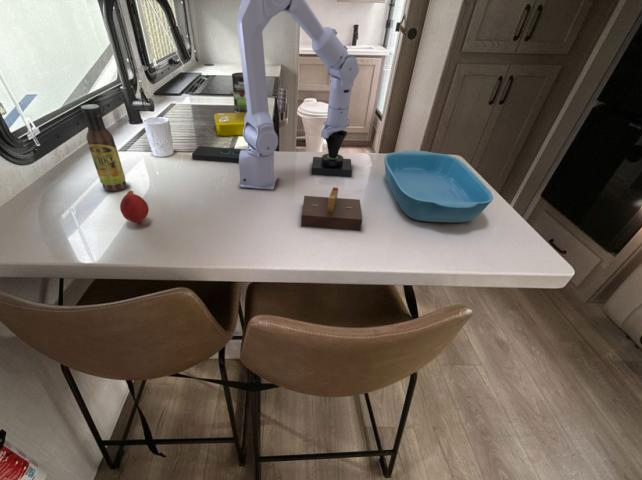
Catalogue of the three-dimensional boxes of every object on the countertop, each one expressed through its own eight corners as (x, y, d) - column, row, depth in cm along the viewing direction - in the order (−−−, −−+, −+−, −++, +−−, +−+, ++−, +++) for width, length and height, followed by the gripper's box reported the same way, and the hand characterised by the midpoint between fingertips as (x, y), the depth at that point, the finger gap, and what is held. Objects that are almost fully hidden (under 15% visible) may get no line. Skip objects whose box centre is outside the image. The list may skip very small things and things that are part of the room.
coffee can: (254, 115, 146) (252, 77, 136) (231, 113, 147) (228, 76, 137) (259, 109, 153) (258, 73, 144) (238, 107, 154) (235, 71, 145)
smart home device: (252, 158, 104) (191, 154, 106) (252, 164, 106) (191, 159, 107) (257, 149, 110) (199, 145, 112) (257, 154, 112) (199, 150, 113)
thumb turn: (332, 212, 78) (334, 197, 75) (326, 211, 78) (328, 196, 75) (336, 202, 82) (338, 187, 79) (331, 201, 82) (332, 186, 79)
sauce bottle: (100, 192, 88) (68, 109, 75) (108, 182, 93) (79, 102, 79) (124, 192, 89) (97, 109, 75) (131, 182, 93) (106, 102, 80)
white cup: (180, 152, 111) (174, 119, 104) (162, 159, 106) (154, 125, 100) (164, 147, 114) (157, 115, 107) (145, 154, 109) (137, 121, 102)
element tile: (256, 135, 126) (256, 121, 123) (217, 136, 124) (215, 122, 120) (251, 123, 137) (250, 110, 134) (214, 124, 134) (213, 111, 131)
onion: (137, 232, 75) (126, 199, 69) (120, 224, 77) (108, 192, 72) (157, 221, 79) (148, 189, 73) (140, 214, 81) (130, 182, 75)
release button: (326, 164, 101) (326, 158, 100) (326, 160, 103) (326, 154, 102) (337, 165, 101) (338, 159, 99) (337, 160, 103) (338, 155, 102)
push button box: (311, 174, 101) (312, 161, 98) (312, 163, 107) (313, 150, 104) (350, 177, 100) (353, 164, 97) (349, 166, 107) (351, 153, 104)
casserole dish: (373, 170, 104) (378, 146, 100) (444, 172, 105) (452, 149, 100) (400, 232, 78) (408, 204, 73) (495, 236, 78) (509, 208, 73)
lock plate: (300, 226, 79) (301, 214, 76) (303, 206, 86) (304, 194, 84) (360, 230, 78) (362, 218, 76) (357, 210, 85) (359, 198, 83)
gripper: (337, 99, 98) (331, 147, 107) (313, 109, 89) (309, 161, 98) (359, 103, 95) (351, 152, 104) (336, 114, 86) (330, 166, 95)
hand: (332, 157), depth 101 cm, fingers closed, pressing on release button
